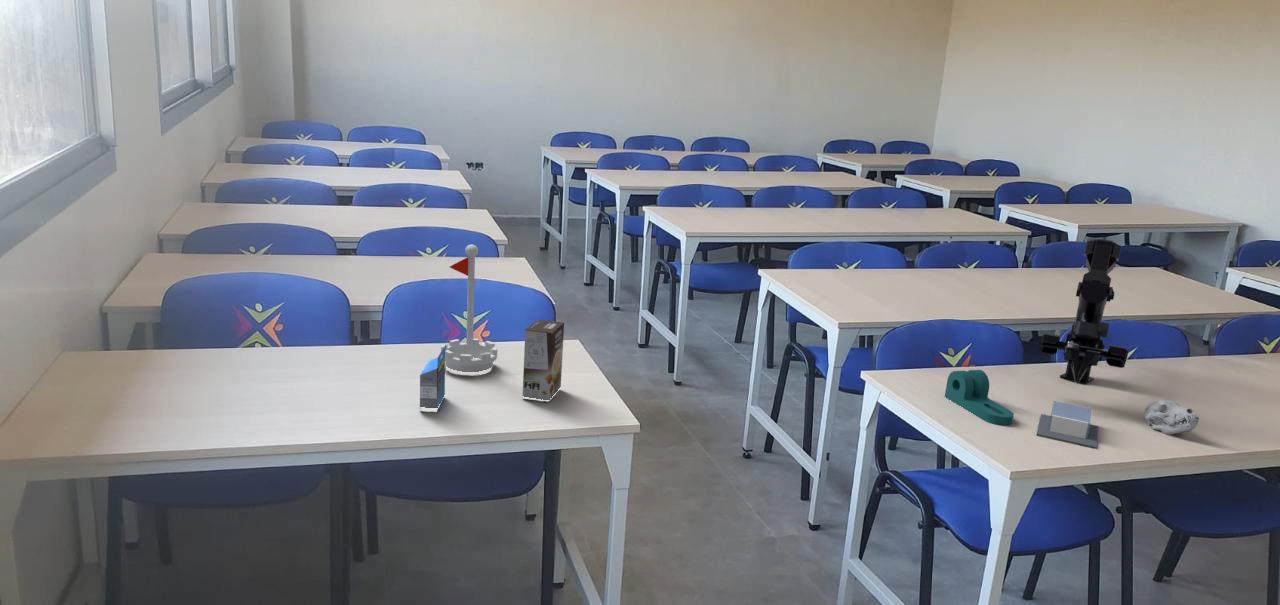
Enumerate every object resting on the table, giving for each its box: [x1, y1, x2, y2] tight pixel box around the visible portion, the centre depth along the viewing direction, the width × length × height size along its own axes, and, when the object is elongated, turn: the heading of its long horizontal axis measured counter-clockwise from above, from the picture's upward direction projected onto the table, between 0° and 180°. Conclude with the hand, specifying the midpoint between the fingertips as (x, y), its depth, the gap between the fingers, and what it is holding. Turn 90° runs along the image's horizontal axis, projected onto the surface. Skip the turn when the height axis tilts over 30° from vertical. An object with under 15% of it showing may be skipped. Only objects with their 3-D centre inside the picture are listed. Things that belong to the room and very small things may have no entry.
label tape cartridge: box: [419, 343, 447, 408], centre depth 196 cm, size 9×4×12 cm, turn 1°
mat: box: [1036, 413, 1099, 450], centre depth 208 cm, size 14×12×1 cm
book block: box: [1048, 400, 1092, 439], centre depth 210 cm, size 4×8×11 cm
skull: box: [1143, 399, 1200, 435], centre depth 212 cm, size 8×9×12 cm
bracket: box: [944, 369, 1015, 427], centre depth 216 cm, size 18×7×8 cm, turn 19°
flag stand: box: [440, 244, 498, 372], centre depth 217 cm, size 13×13×30 cm
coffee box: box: [522, 319, 565, 400], centre depth 206 cm, size 9×6×16 cm
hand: (1076, 381), depth 218 cm, fingers closed
